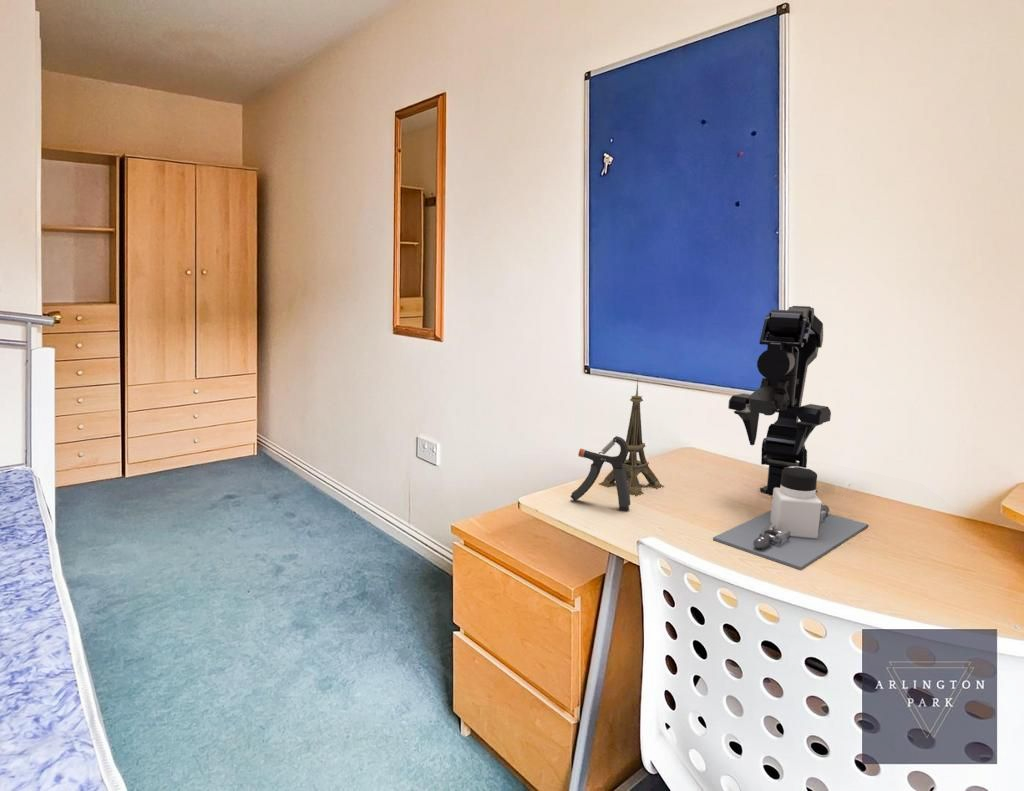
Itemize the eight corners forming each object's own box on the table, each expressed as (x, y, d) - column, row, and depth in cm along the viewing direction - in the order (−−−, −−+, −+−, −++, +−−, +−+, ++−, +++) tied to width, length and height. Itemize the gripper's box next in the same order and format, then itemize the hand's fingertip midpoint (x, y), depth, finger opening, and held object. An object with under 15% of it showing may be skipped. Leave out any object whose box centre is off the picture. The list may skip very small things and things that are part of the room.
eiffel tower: (626, 476, 156) (633, 373, 151) (664, 487, 148) (671, 379, 144) (598, 484, 149) (604, 377, 144) (636, 496, 141) (643, 383, 137)
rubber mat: (787, 504, 138) (787, 502, 138) (868, 526, 126) (868, 524, 126) (712, 539, 118) (713, 537, 118) (800, 569, 106) (800, 567, 106)
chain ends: (816, 510, 133) (817, 501, 133) (834, 515, 131) (835, 506, 130) (746, 547, 114) (747, 536, 113) (766, 554, 111) (767, 543, 111)
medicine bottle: (818, 539, 118) (825, 476, 116) (777, 535, 119) (783, 473, 117) (808, 525, 125) (815, 465, 123) (769, 521, 126) (775, 462, 124)
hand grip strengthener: (572, 498, 138) (575, 430, 136) (630, 508, 133) (635, 437, 130) (569, 502, 136) (572, 432, 134) (627, 512, 131) (632, 440, 128)
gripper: (717, 371, 130) (711, 446, 133) (811, 383, 117) (802, 467, 120) (745, 367, 138) (738, 438, 141) (836, 378, 124) (827, 457, 127)
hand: (773, 449), depth 132 cm, fingers open, 9 cm apart
